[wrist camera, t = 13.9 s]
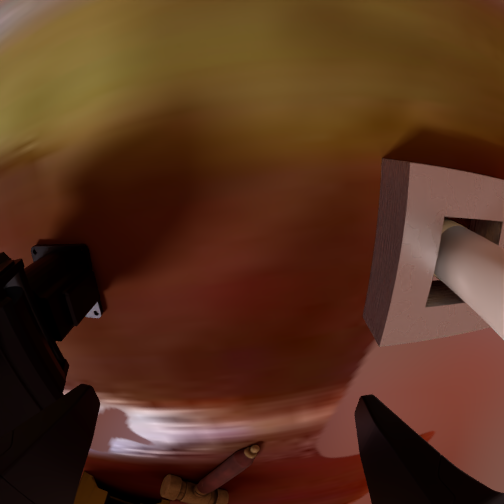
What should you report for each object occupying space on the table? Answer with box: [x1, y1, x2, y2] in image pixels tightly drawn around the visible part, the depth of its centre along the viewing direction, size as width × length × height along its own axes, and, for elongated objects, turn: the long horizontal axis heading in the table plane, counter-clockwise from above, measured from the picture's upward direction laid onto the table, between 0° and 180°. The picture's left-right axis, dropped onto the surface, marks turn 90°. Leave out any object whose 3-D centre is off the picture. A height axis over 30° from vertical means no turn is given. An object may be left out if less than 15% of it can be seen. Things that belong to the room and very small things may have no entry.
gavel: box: [160, 445, 260, 504], centre depth 30 cm, size 21×5×10 cm
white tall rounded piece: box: [433, 218, 504, 340], centre depth 14 cm, size 4×4×12 cm
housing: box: [363, 158, 504, 347], centre depth 18 cm, size 12×12×4 cm
